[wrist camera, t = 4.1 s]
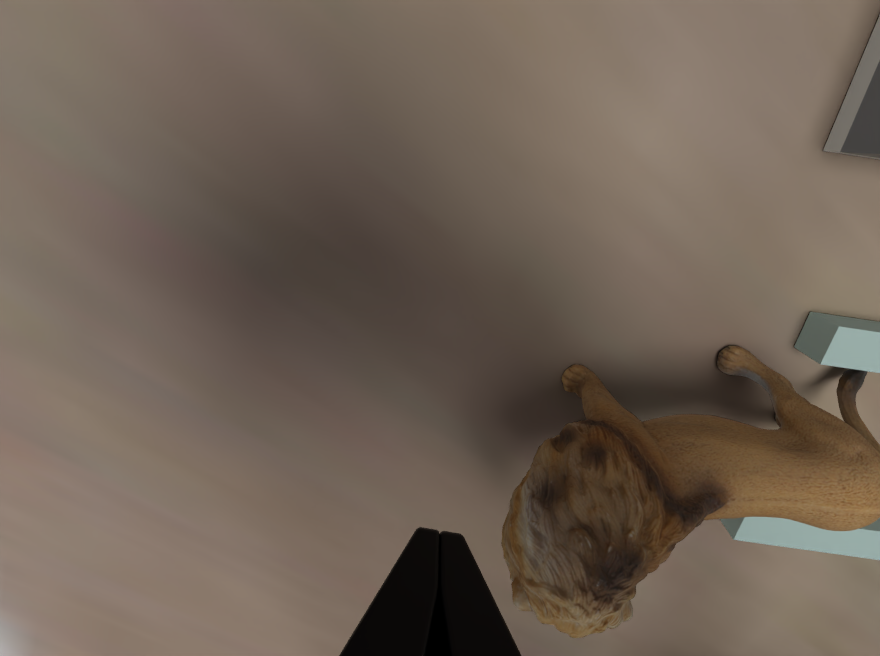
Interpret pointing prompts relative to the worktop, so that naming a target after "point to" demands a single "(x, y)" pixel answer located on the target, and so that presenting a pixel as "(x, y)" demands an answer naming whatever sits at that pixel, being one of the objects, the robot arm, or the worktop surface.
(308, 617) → the worktop surface
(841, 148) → the button housing
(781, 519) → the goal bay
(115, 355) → the worktop surface
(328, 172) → the worktop surface
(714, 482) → the lion figurine
